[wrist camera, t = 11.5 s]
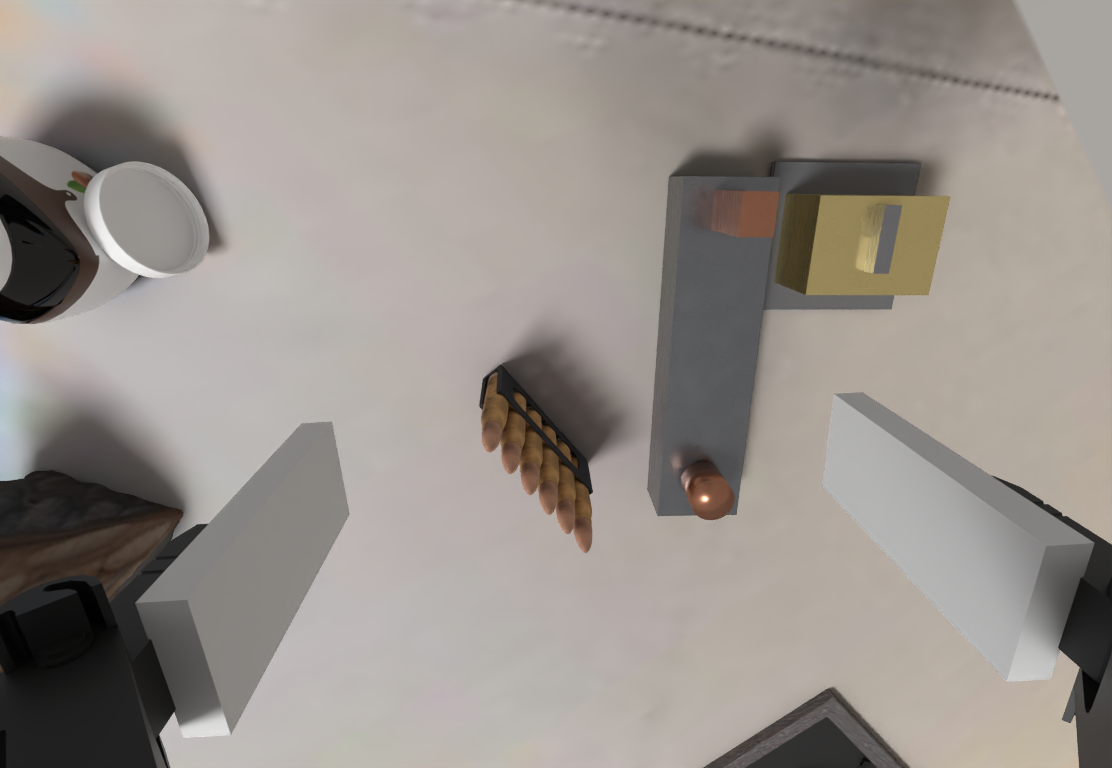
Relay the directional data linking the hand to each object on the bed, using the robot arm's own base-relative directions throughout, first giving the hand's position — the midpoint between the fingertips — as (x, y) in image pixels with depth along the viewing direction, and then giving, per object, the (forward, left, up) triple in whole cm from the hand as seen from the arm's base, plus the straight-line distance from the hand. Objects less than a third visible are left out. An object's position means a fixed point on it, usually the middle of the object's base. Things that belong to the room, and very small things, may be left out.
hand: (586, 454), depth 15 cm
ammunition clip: (+11, -1, -28) cm, 30 cm away
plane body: (+5, +11, -27) cm, 30 cm away
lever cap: (-3, +20, -27) cm, 34 cm away
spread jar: (-4, -29, -28) cm, 40 cm away
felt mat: (-3, +20, -27) cm, 34 cm away
